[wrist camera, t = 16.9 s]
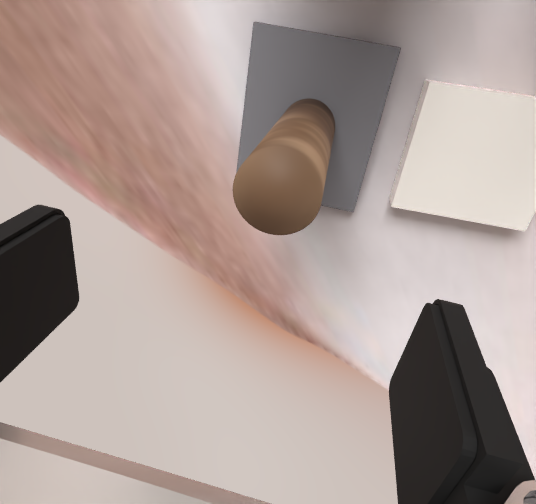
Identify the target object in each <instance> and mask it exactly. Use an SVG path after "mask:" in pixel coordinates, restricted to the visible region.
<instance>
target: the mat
mask: <svg viewBox="0 0 536 504" xmlns="http://www.w3.org/2000/svg"><path fill="white" fill-rule="evenodd" d="M400 49H401V48H399V47H394V46H389V45H383V44H377V43H372V42H366V41H360V40H355V39H349V38H343V37H338V36H332V35H327V34H321V33H315V32H310V31H304V30H298V29H293V28H287V27H282V26H276V25H270V24H265V23H259V22H254V23H253V32H252V41H251V49H250V58H249V67H248V76H247V85H246V93H245V102H244V111H243V120H242V129H241V137H240V146H239V155H238V164H237V171H238V169H239V168H240V166H241V165H242V164H243V162H244V161H245V160H246V159H247V158H248V156H249V155H250V154H251V153H252V152H253V150H254V149H255V148H256V147H257V145H258V144H259V143H260V142H261V141H262V139H263V138H264V137H265V136H266V135H267V133H268V132H269V131H270V130H271V128H272V127H273V126H274V125H275V124H276V122H277V121H278V120H279V119H280V118H281V116H282V115H283V114H284V113H285V111H286V110H287V109H288V108H289V107H290V106H291V105H292V104H293V103H295V102H296V101H299V100H302V99H309V98H310V99H316V100H319V101H321V102H323V103H324V104H325V105H327V106H328V108H329V109H330V110H331V112H332V114H333V116H334V119H335V132H334V138H333V143H332V148H331V154H330V159H329V165H328V170H327V175H326V181H325V186H324V192H323V197H322V202H321V205H322V206H327V207H332V208H336V209H341V210H346V211H350V212H354V208H355V205H356V202H357V198H358V195H359V191H360V188H361V184H362V181H363V177H364V174H365V170H366V167H367V164H368V160H369V157H370V153H371V150H372V146H373V143H374V139H375V136H376V132H377V129H378V126H379V122H380V119H381V115H382V112H383V108H384V105H385V101H386V98H387V94H388V91H389V87H390V84H391V81H392V77H393V74H394V70H395V67H396V63H397V60H398V56H399V53H400ZM236 173H237V172H236Z"/></svg>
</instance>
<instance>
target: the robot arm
mask: <svg viewBox="0 0 536 504" xmlns="http://www.w3.org/2000/svg"><path fill="white" fill-rule="evenodd" d="M78 302H79V291H78V283H77V275H76V267H75V260H74V251H73V243H72V235H71V228H70V221H69V219H68V218H67V217H66V216H65V214H64V213H63V211H62V210H60V209H56V208H51V207H48V206H43V205H36V206H33V207H31V208H30V209H28V210H26V211H24V212H22V213H20V214H18V215H17V216H15V217H13V218H11V219H9V220H7V221H6V222H4V223H2V224H0V382H1V381H2V380H3V379H4V378H5V377H6V376H7V375H8V374H9V373H10V372H12V371H13V370H14V369H15V368H16V367H17V366H18V365H19V363H21V362H22V361H23V360H24V359H25V358H26V357H27V356H28V355H29V354H30V353H31V352H32V351H33V350H34V349H35V348H36V347H37V346H38V345H39V344H40V343H41V342H42V341H43V340H44V339H45V338H46V337H47V336H48V335H49V334H50V333H51V332H52V331H53V330H54V329H55V328H56V327H57V326H58V325H59V324H60V323H61V322H62V321H64V320H65V319H66V318H67V317H68V316H69V315H70V314H71V313H72V312H73V311H74V310H75V308H76V307H77V305H78ZM389 399H390V411H391V423H392V435H393V447H394V459H395V470H396V482H397V495H398V504H536V480H535V478H534V476H533V473H532V471H531V468H530V466H529V463H528V461H527V458H526V455H525V453H524V450H523V448H522V445H521V443H520V440H519V438H518V435H517V433H516V430H515V427H514V425H513V422H512V420H511V417H510V415H509V412H508V410H507V407H506V404H505V402H504V399H503V397H502V394H501V392H500V389H499V387H498V384H497V381H496V379H495V376H494V375H493V373H492V371H491V370H490V369H489V368H487V367H486V364H485V361H484V359H483V356H482V354H481V351H480V348H479V346H478V343H477V340H476V338H475V335H474V332H473V330H472V327H471V325H470V322H469V319H468V317H467V314H466V311H465V309H464V307H463V305H461V304H456V303H452V302H448V301H444V300H439V299H437V300H435V301H434V303H433V304H431V303H426V304H425V306H424V308H423V310H422V312H421V314H420V316H419V319H418V321H417V323H416V325H415V327H414V330H413V332H412V334H411V336H410V338H409V341H408V343H407V345H406V347H405V349H404V352H403V354H402V356H401V358H400V360H399V363H398V365H397V367H396V369H395V371H394V374H393V376H392V378H391V381H390V386H389ZM0 504H270V503H267V502H264V501H260V500H257V499H254V498H251V497H247V496H244V495H240V494H237V493H234V492H231V491H227V490H224V489H221V488H218V487H214V486H211V485H208V484H205V483H201V482H198V481H195V480H191V479H188V478H185V477H182V476H178V475H175V474H172V473H169V472H165V471H162V470H158V469H155V468H152V467H149V466H145V465H142V464H138V463H135V462H132V461H128V460H125V459H122V458H119V457H115V456H112V455H109V454H105V453H101V452H98V451H95V450H92V449H88V448H85V447H82V446H78V445H75V444H71V443H68V442H65V441H61V440H58V439H55V438H51V437H48V436H45V435H41V434H38V433H35V432H31V431H28V430H25V429H21V428H18V427H14V426H11V425H7V424H4V423H0Z"/></svg>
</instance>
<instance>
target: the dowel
mask: <svg viewBox="0 0 536 504" xmlns="http://www.w3.org/2000/svg"><path fill="white" fill-rule="evenodd" d="M334 132H335V119H334V116H333V114H332V112H331V110H330V109H329V108H328V106H327V105H325V104H324V103H323V102H321V101H319V100H316V99H310V98H309V99H302V100H299V101H296V102H295V103H293V104H292V105H291V106H290V107H289V108H288V109H287V110H286V111H285V113H284V114H283V115H282V116H281V118H280V119H279V120H278V121H277V122H276V124H275V125H274V126H273V127H272V128H271V130H270V131H269V132H268V133H267V135H266V136H265V137H264V138H263V139H262V141H261V142H260V143H259V144H258V145H257V147H256V148H255V149H254V150H253V152H252V153H251V154H250V155H249V156H248V158H247V159H246V160H245V161H244V162H243V164H242V165H241V166H240V168H239V169H238V171H237V173H236V175H235V179H234V183H233V197H234V201H235V204H236V207H237V209H238V211H239V212H240V214H241V215H242V217H243V218H244V219H245V220H246V221H247V222H248V223H249V224H250V225H252V226H253V227H254V228H256V229H258V230H260V231H262V232H265V233H268V234H273V235H287V234H292V233H295V232H298V231H300V230H302V229H304V228H305V227H307V226H308V225H309V224H310V223H311V222H312V221H313V220H314V218H315V217H316V215H317V214H318V212H319V209H320V206H321V202H322V197H323V192H324V186H325V181H326V175H327V170H328V165H329V159H330V154H331V148H332V143H333V138H334Z"/></svg>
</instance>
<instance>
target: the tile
mask: <svg viewBox="0 0 536 504" xmlns="http://www.w3.org/2000/svg"><path fill="white" fill-rule="evenodd" d="M389 199H390V203H391V207H395V208H400V209H406V210H411V211H417V212H422V213H427V214H433V215H438V216H444V217H449V218H455V219H460V220H465V221H471V222H476V223H482V224H487V225H493V226H498V227H503V228H509V229H514V230H520V231H526V229H527V227H528V225H529V223H530V221H531V219H532V217H533V216H534V214H535V212H536V96H532V95H525V94H519V93H512V92H505V91H499V90H492V89H486V88H479V87H473V86H466V85H460V84H453V83H446V82H440V81H433V80H427V79H425V81H424V84H423V88H422V91H421V94H420V98H419V101H418V104H417V108H416V111H415V114H414V117H413V121H412V124H411V127H410V131H409V134H408V137H407V141H406V144H405V147H404V151H403V154H402V157H401V161H400V164H399V167H398V171H397V174H396V177H395V180H394V184H393V187H392V190H391V194H390V197H389Z"/></svg>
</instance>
